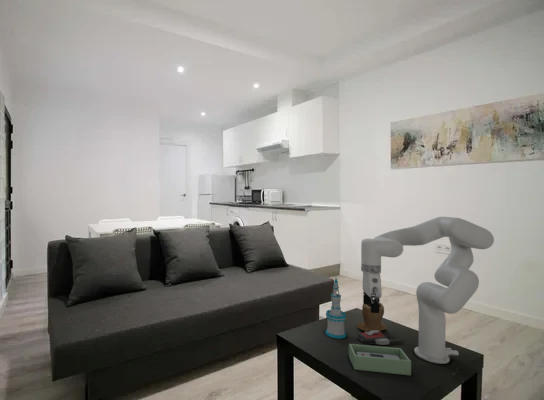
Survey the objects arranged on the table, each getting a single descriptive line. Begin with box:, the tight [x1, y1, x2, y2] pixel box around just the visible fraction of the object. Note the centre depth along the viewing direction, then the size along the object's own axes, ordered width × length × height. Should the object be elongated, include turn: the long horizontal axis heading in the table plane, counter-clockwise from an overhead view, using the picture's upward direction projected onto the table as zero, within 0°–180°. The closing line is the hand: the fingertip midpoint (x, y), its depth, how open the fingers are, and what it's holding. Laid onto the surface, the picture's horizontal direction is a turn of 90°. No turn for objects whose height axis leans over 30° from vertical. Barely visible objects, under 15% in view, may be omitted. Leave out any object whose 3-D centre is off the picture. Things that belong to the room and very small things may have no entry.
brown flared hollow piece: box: [356, 302, 388, 333], centre depth 153 cm, size 15×12×15 cm
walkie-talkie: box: [357, 330, 404, 346], centre depth 141 cm, size 9×4×20 cm
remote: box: [356, 352, 400, 359], centre depth 121 cm, size 16×5×3 cm, turn 79°
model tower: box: [324, 274, 347, 339], centre depth 149 cm, size 10×10×30 cm
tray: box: [348, 343, 412, 376], centre depth 121 cm, size 21×10×6 cm, turn 79°
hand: (370, 308), depth 126 cm, fingers open, 9 cm apart
